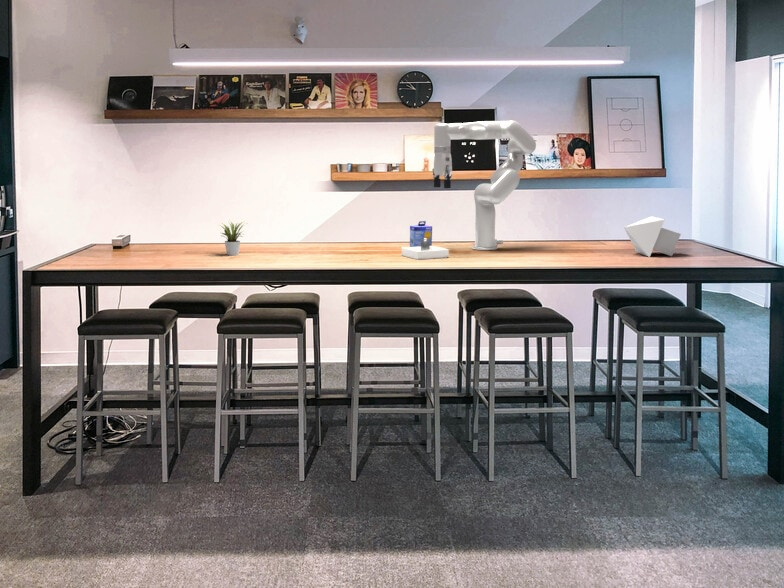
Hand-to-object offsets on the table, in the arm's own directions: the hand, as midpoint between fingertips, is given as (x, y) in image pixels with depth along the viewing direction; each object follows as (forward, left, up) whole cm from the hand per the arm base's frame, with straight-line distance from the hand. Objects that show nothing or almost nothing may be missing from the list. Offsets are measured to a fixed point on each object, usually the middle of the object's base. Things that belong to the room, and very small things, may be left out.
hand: (442, 187), depth 377 cm
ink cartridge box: (+8, -6, -30) cm, 32 cm away
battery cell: (+15, +12, -30) cm, 35 cm away
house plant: (+91, -32, -30) cm, 101 cm away
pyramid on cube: (-81, +51, -31) cm, 100 cm away
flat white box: (+15, +12, -30) cm, 36 cm away
